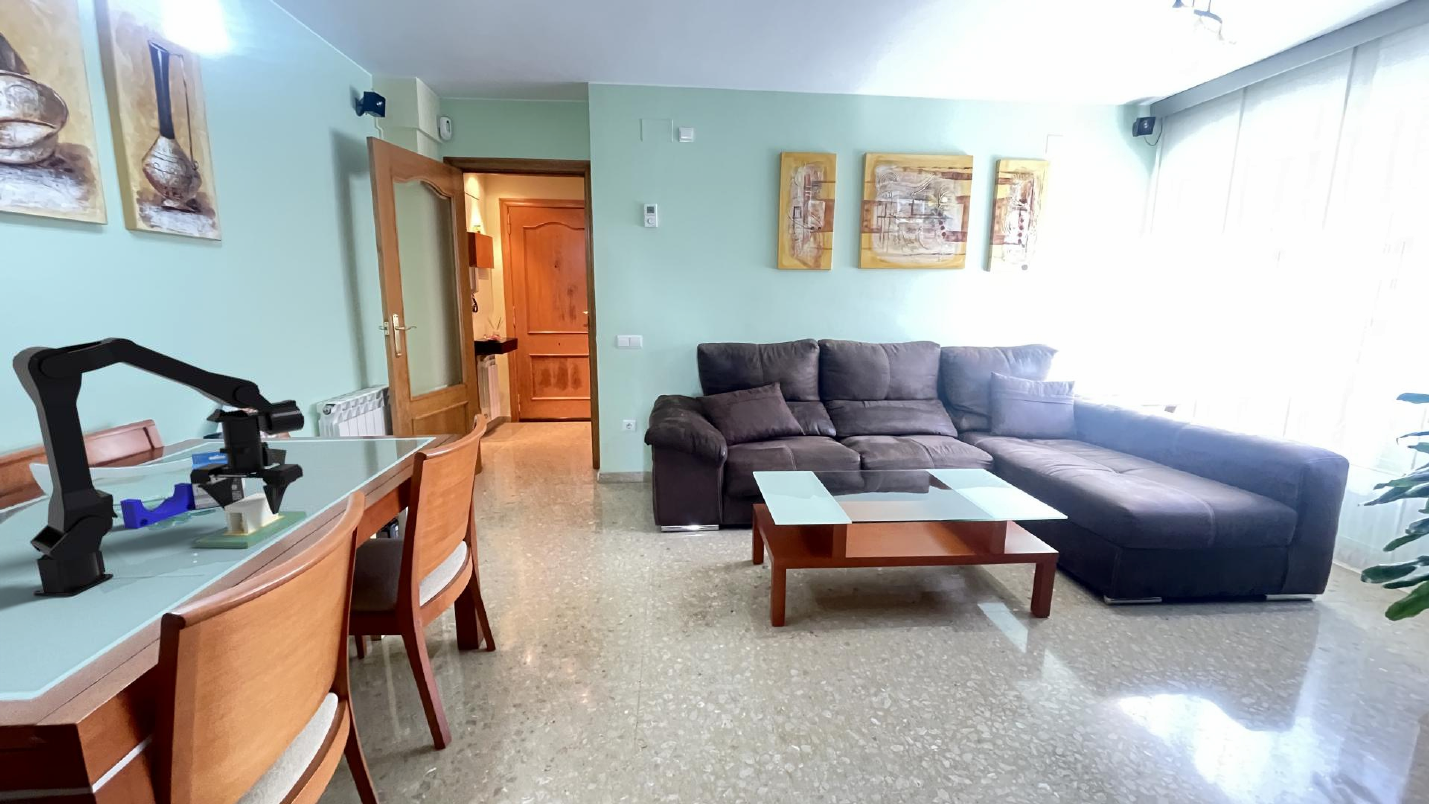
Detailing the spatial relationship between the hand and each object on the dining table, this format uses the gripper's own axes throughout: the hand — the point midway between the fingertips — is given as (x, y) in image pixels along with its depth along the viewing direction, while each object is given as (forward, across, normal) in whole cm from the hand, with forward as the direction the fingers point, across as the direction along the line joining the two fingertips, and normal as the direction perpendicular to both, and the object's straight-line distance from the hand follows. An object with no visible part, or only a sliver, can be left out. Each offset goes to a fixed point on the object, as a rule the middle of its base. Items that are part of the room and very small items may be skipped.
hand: (253, 513), depth 115 cm
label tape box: (+4, +20, -15) cm, 25 cm away
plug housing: (+2, 0, 0) cm, 3 cm away
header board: (+4, 0, 0) cm, 4 cm away
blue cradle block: (+4, +26, -7) cm, 27 cm away
